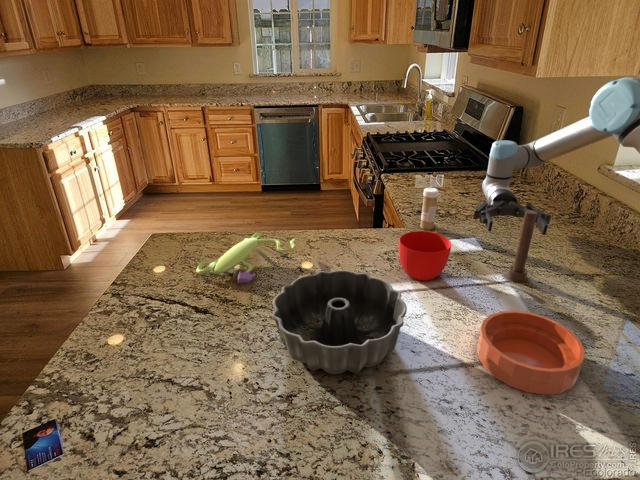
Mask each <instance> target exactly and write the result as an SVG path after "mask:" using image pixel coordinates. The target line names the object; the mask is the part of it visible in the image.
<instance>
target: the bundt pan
mask: <svg viewBox="0 0 640 480" xmlns="http://www.w3.org/2000/svg"><path fill="white" fill-rule="evenodd" d="M272 309H273V312H272V314H271V318H272V319H271V320H273V321H275V325H276V329H277V331H278V336H279V339H280V341H281V343H282V344H283V345H284V347H286V348H287V351H288V353H289V354H290V356H291V357H292V358H293V359H294V360H296V361H298V362H300V363H304V364H306V365H307V367H308V369H309V370H310V371H318V370H320V369H322V370H323V371H324V372H326V373H327V374H331V375H340V374H343V373H345V372H346V371H349V372H351V373H353V374H359V373H360V372H361V371H362V369H363V368H373V367H376V366H377V365H379V364H380V363H381V362H382V361H383V360H384V359H385V357H386V356H388V355H390V354H392V353H393V352H394V350H395V348H396V346H397V342H398V339H399V335H400V332H401V328H402V327H403V326H404V318H405V316H406V314H407V310H408V307H407V304H406V302H405V301H404V299H402V292H401V291H399V290H397V289H394V288H393V285H391V284H390V282H388V281H387V280H384V279H382V278H379V277H373V276H372V275H370V274H368V273H367V272H362V273H361V272H360V273H358V272H355V271H351V270H344V269H343V270H342V269H340V270H333V271H323V270H322V271H318V272H317V273H315V274H307V275H302V276H300V277H298V278H296V279H295V280H293V281H292V282H291V283H290V284H287V285H284V286H282V287H281V292H280V293H278V294H277V295H276V296H275V297H274V298H273V300H272ZM356 319H357V320H356ZM314 320H317V321H320V322H321V325H314V324H313V323H312V322H313V321H314ZM365 326H366V327H365ZM302 327H303V328H302ZM305 327H306V328H309V329H311V330H313V331H308V330H305V329H304V328H305ZM372 334H373V335H372ZM301 335H305V336H306V335H307V336H308V337H309V339H307V340H304V339H303V337H302V336H301Z"/></svg>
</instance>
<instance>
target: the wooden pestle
mask: <svg viewBox="0 0 640 480" xmlns="http://www.w3.org/2000/svg"><path fill="white" fill-rule="evenodd" d="M536 217H537V212H536V211H533V210H526V211H525V216H524V218H523V221H522V224H521V225H522V226H521V230H520V234H519V240H518V243H517V247H516V253H515V257H514V261H513V265H511V266H509V267H508V272H507V279H508V280H510V281H512V282H515V283H524V282H526V281H527V276H528V270H527V269H526V268H525V267H526V263H527V259H528V255H529V250H530V247H531V242H532V238H533V235H534V230H535V226H536V223H535V221H536Z"/></svg>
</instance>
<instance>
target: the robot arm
mask: <svg viewBox="0 0 640 480" xmlns="http://www.w3.org/2000/svg"><path fill="white" fill-rule="evenodd" d="M611 137H614V138H615V139H616V140H617V141H618V143H619V144H620V145H621V146H622V147H624V148H634V149H635V150H636V151H637V152H638V154H639V155H640V76H639V77H622V78H619V79H615V80H611V81H609V82H607V83H606V84H604V85H603V86H601V87H600V88H599V89H598V91H596V93H595V94H594V96H593V97H592V99H591V102H590V107H589V112H588V116H587V117H584V118H582V119H580V120H577V121H576V122H573V123H571V124H569V125H567V126H564V127H562V128H560V129H558V130H555V131H554V132H550V133H549V134H547V135H544V136H542V137H540V138H538V139H535V140H534V141H532V142H529V143H526V144H520V145H518V143H517V142H515V141H512V140H506V139H504V140H503V139H502V140H496V141H494V142H493V143H492V145H491V148H490V153H489V158H488V165H487V171H486V176H485V178H484V180H483V182H482V185H481V187H482V191H483V195H484V197H485V198H486V200H487V201H486V200H482V201H481V203H480V205H478V206H477V207H476V208H475V209H474V210H473V214H472V215H473V216H472V219H473V220H478V219H479V223H480V224H483V225H484V224H485V227H486V229H487V231H488V232H492V229H493V223H494V222H493V219H492V218H493V217H498V216H500V217H501V216H502V217H504V216H513V217H515V218H522V219H524V216H525V211H526V210H533V211H536V212H537V217H536V221H535V226H536V227H537V228H538V231H539V232H540V233H541V235H543V236H547V230H548V227H549V225H550V222H551V218H552V215H551V214H549V213H547V212H545V211H544V210H542V209H539V208H537V207H535V206H534V205H533V204H531V203H525V204H526V205H522V204H521V203H519V201H518V197H516V195H515V193H514V192H513V191H512V189H511V181H512V177H513V173H514V171H516V170H520V169H526V168H532V167H533V168H537V167H539V166H542V165H545V164H546V163H548V162H549V161H551V160H553V159H556V158H558V157H562V156H564V155H566V154H570V153H572V152H574V151H577V150H579V149H582V148H585V147H587V146H590V145H592V144H594V143H598V142H601V141H603V140H605V139H608V138H611Z"/></svg>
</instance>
